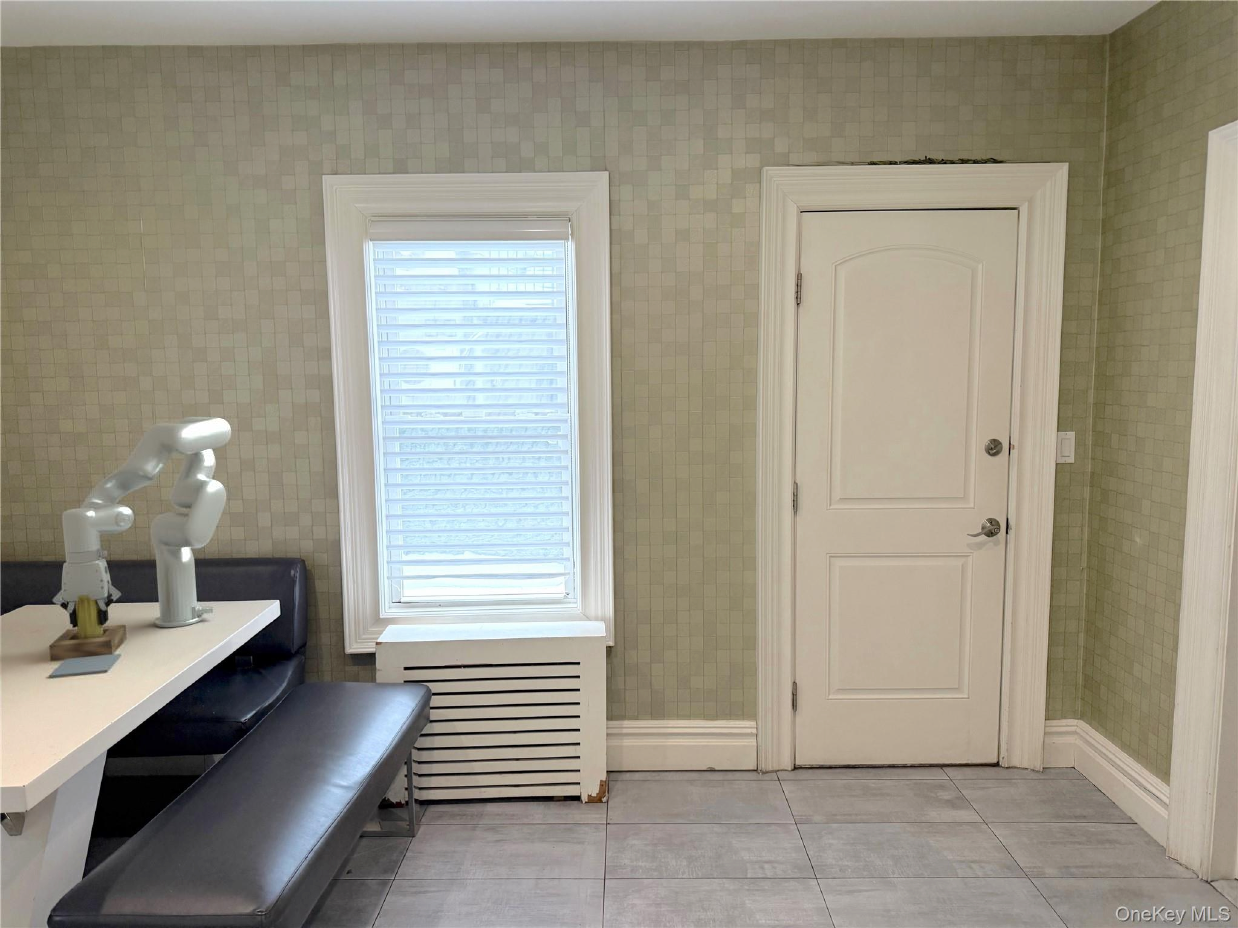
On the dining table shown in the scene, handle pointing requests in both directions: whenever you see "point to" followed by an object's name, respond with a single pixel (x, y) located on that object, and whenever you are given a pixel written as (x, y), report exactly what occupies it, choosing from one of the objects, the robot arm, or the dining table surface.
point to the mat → (85, 665)
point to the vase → (88, 618)
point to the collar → (87, 644)
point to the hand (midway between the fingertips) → (89, 624)
